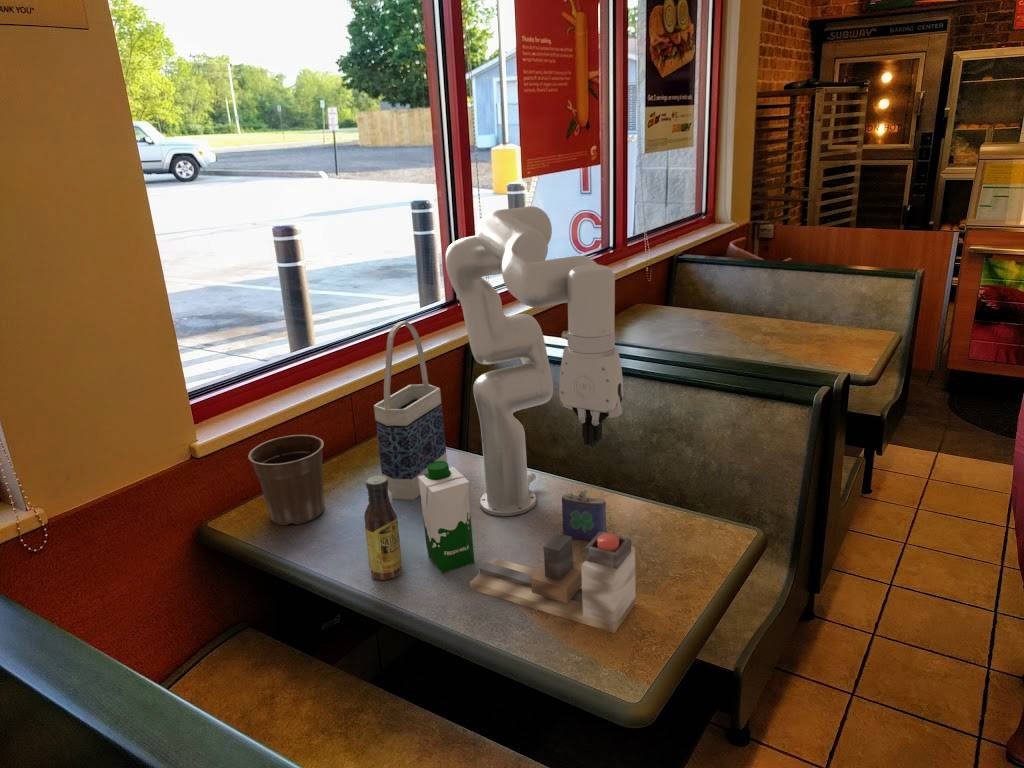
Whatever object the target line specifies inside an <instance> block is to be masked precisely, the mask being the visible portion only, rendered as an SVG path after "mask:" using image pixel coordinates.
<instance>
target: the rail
mask: <svg viewBox="0 0 1024 768" xmlns="http://www.w3.org/2000/svg"><path fill="white" fill-rule="evenodd" d="M602 534H610V533H608V532H606V533H605V532H599V533H598V534H597V535H596V536H595V537H594V538H593V539H592V540H591V541H590V542H588V544H587V545H586V546H585V547H584V555H585V556H584V558H585V561H583V562H582V565H581V574H582V586H581V588H580V589H579V590H578V591H577V592H576V593H575V595H574V596H573V597H572V598H571V599H570V601H569V602H568V603H565V602H562V601H558V600H555V599H551V598H548V597H545V596H541V595H538V594H535V593H532V585H531V578H532V577H533V576H534V575H535V574H536V572H537V571H538V570H539V569H536V568H532V567H529V566H526V565H522V564H519V563H515V562H511V561H507V560H504V559H501V558H500V559H499V558H497V557H495V559H493V560H492V561H491V562H487V561H486V562H485V563H483V565H482V566H480V567H479V573H478V574H477V575H476V576H475V577H474V578H473V579H472V580H471V581H470V582H469V584H470V590H472V591H477V592H479V593H483V594H486V595H489V596H493V597H495V598H497V599H498V598H499V599H502V600H505V601H509V602H511V603H515V604H519V605H522V606H525V607H528V608H531V609H534V610H537V611H541V612H545V613H546V614H547V613H548V614H550V615H554V616H557V617H560V618H564V619H567V620H571V621H574V622H576V623H579V624H583V625H587V626H590V627H593V628H597V629H600V630H603V631H605V632H610V633H613V634H616V633H617V631H618V629H620V627H621V625H622V624H623V623H624V621H625V619H626V618H627V617H628V615H629V614H630V613H631V611H632V610H633V608H634V607H635V606H636V547H635V546H632V538H630V537H624V536H621V535H617V534H615V535H616V536H618V538H619V548H618V550H617V551H616V552H611V551H607V550H603V549H599V548H598V547H597V538H598V536H600V535H602Z"/></svg>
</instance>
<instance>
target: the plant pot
mask: <svg viewBox="0 0 1024 768" xmlns="http://www.w3.org/2000/svg"><path fill="white" fill-rule="evenodd" d="M324 446H325V444H324V440H323V439H321V438H320V437H317V436H315V435H310V434H292V435H286V436H281V437H276V438H272V439H270V440H267V441H265V442H262V443H260V444H258V445H257V446H255V447H254V448H253V449H251V450H250V451H249V453H248V461H249V462H250V463H252V467H253V469H254V472H255V475H256V476H257V477H258V481H259V484H260V487H261V490H262V493H263V496H264V500H265V504H266V505H267V509H268V512H269V516H270V517H269V518H270V520H271V521H272V522H273V523H275V524H277V525H281V526H289V524H295V525H301V524H305V523H307V522H311V521H312V520H315V519H316V518H318V517H319V516H321V514H322V513H324V509H325V508H326V506H325V505H326V503H325V493H324V492H325V491H324V480H323V479H324V478H323V464H322V463H323V459H324V458H323V448H324Z"/></svg>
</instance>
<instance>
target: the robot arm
mask: <svg viewBox="0 0 1024 768" xmlns="http://www.w3.org/2000/svg"><path fill="white" fill-rule="evenodd" d="M552 236H553V229H552V223H551V220H550V217H549V215H548V214H547V212H545V211H544V210H543V209H542V208H540V207H537V206H522V207H513V208H512V207H511V208H506V209H505V208H504V209H498V210H494V211H491V212H489V213H487V214H485V215H484V216H483V217H481V219H480V221H479V222H478V223H477V227H476V235H471V236H467V237H462V238H459V239H457V240H455V241H453V242H452V243H451V244H450V245H449V246H448V247H447V249H446V252H445V267H446V268H445V269H446V272H447V276H448V278H449V282H450V284H451V286H452V288H453V290H454V292H455V294H456V296H457V298H458V300H459V302H460V306H461V309H462V314H463V319H464V324H465V327H466V331H467V333H466V334H467V337H468V341H469V345H470V350H471V354H472V356H473V358H474V360H475V361H476V362H477V363H478V364H481V365H492V364H499V363H505V362H508V361H514V360H518V359H519V360H520V361H521V364H518V365H513V366H507V367H503V368H499V369H498V368H497V369H494V370H489V371H487V372H485V373H482V374H481V375H479V376H478V377H477V378H476V379H475V381H474V382H473V383H474V384H473V386H472V387H473V389H472V391H473V392H472V393H473V397H474V402H475V405H476V408H477V413H478V418H479V424H480V432H481V433H480V434H481V444H482V445H481V446H482V447H481V448H482V456H483V468H484V471H483V472H484V482H485V493H483V494H482V496H481V497H480V500H479V506H480V508H481V509H482V510H483V512H485V513H487V514H488V515H492V516H498V517H512V516H518V515H522V514H525V513H526V512H527V513H528V512H529V511H530V510H531V509H533V508H534V507H535V506H536V501H537V498H536V495H535V493H534V492H533V491H532V490H531V489H530V485H531V484H532V482H533V481H535V480H536V478H537V476H536V474H535V473H534V472H529V473H528V465H527V461H528V460H527V447H526V432H525V428H524V426H523V424H522V423H521V422H520V421H519V420H518V419H517V418H516V417H515V416H514V413H515V412H517V411H521V410H524V409H528V408H532V407H537V406H541V405H544V404H546V403H548V402H549V401H550V400H551V399H552V397H553V394H554V383H553V382H554V381H553V376H552V371H551V370H552V369H551V366H550V361H549V357H548V353H547V348H546V342H545V338H544V334H543V331H542V327H541V326H540V324H539V323H538V320H536V318H534V316H532V315H530V314H529V313H528V314H527V313H519V314H518V313H517V314H512V315H508V316H507V315H505V313H504V309H503V305H502V299H501V296H500V294H499V292H498V291H497V290H496V289H495V287H494V286H493V285H492V284H490V282H488V280H486V279H484V278H483V277H488V276H497V275H501V276H502V279H503V282H504V285H505V288H506V289H507V291H508V292H509V293H510V294H511V296H513V297H514V298H515V299H516V300H517V301H519V302H520V303H522V304H523V305H525V306H526V307H527V306H528V307H531V308H545V307H549V306H554V305H561V304H567V319H568V320H567V321H568V322H567V330H563V331H562V333H561V338H562V339H563V340H566V341H567V346H566V347H564V348H563V352H562V357H561V363H560V371H559V384H558V385H559V386H558V389H559V390H558V391H559V392H558V393H559V395H558V397H559V401H560V403H562V406H563V407H564V408H566V409H568V410H571V411H573V412H574V414H575V415H576V416H577V417H578V421H579V422H580V423H581V427H582V428H581V431H582V433H581V434H582V438H583V445H584V446H590V447H594V446H596V444H598V443H599V442H600V441H601V440H602V437H603V421H604V420H606V419H607V418H619V416H621V415H622V414H623V408H622V403H623V401H624V400H623V399H624V385H623V384H624V382H623V380H624V378H623V370H622V364H621V358H620V354H619V349H617V348H615V347H616V345H615V342H616V341H615V335H616V334H615V332H616V331H615V317H616V316H615V315H616V314H615V311H616V310H615V307H616V305H615V304H616V301H615V300H616V296H615V295H616V294H615V293H616V292H615V291H616V290H615V289H616V288H615V287H616V286H615V285H616V278H615V277H616V275H615V273H614V270H613V269H611V268H610V267H609V266H606V265H602V264H598V263H597V262H596V261H595V260H593V259H592V258H590V257H589V256H585V255H573V256H565V257H558V258H553V259H546V258H547V256H548V252H549V251H548V250H549V243H550V241H551V239H552Z"/></svg>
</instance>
